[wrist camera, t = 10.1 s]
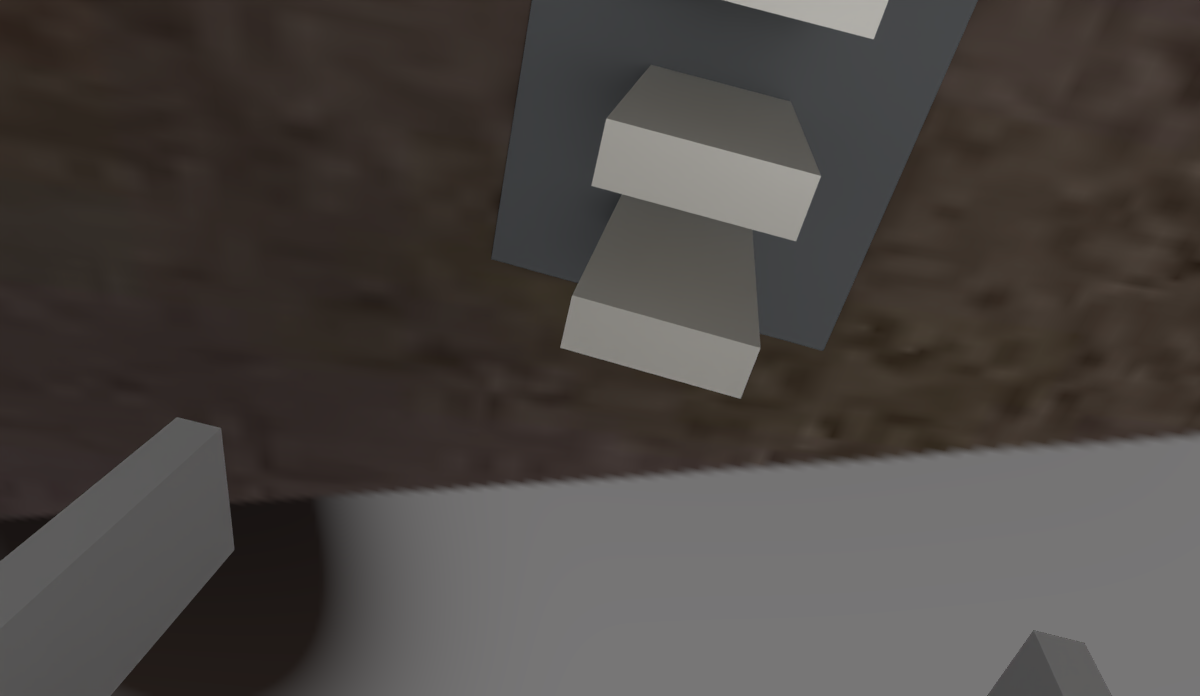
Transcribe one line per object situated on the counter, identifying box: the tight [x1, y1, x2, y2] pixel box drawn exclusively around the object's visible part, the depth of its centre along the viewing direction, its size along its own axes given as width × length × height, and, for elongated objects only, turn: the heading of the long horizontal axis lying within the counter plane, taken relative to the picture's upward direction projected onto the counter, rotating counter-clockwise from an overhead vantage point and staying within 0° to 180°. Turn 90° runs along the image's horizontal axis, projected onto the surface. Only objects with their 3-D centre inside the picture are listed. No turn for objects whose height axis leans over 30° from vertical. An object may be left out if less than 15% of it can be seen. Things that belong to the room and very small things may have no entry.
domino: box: [591, 65, 821, 241], centre depth 21 cm, size 5×2×10 cm, turn 77°
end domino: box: [560, 194, 760, 399], centre depth 23 cm, size 5×2×10 cm, turn 77°
